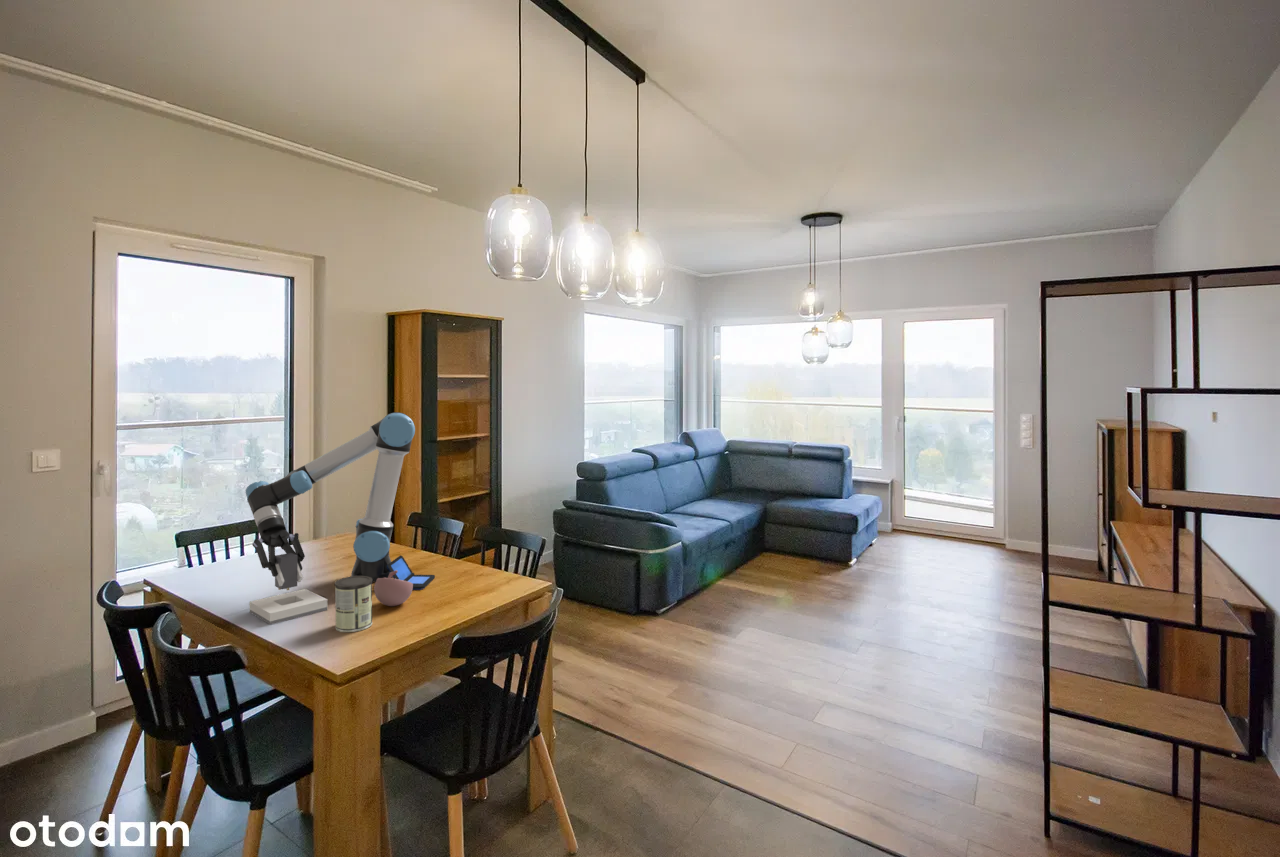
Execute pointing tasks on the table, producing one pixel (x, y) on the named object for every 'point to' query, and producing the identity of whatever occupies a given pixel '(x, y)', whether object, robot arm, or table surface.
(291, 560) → the plug
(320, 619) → the table surface
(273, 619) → the socket
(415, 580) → the handheld game console
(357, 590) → the coffee can
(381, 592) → the mortar and pestle
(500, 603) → the table surface
